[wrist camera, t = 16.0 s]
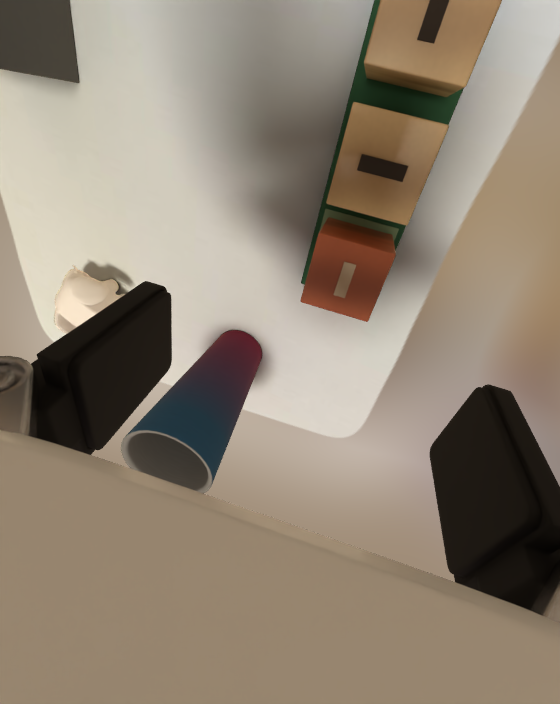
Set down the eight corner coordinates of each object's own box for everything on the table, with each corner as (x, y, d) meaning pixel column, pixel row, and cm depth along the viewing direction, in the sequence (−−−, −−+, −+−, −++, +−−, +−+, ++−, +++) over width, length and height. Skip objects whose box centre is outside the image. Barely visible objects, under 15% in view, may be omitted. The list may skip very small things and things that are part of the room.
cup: (202, 359, 37) (116, 470, 24) (219, 310, 33) (125, 414, 20) (257, 386, 37) (199, 509, 25) (280, 341, 33) (224, 461, 21)
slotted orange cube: (328, 216, 25) (318, 232, 20) (392, 234, 24) (396, 254, 20) (311, 277, 28) (299, 302, 23) (368, 294, 27) (367, 323, 23)
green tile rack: (393, -69, 17) (400, -147, 12) (516, -44, 17) (572, -116, 12) (302, 280, 29) (287, 309, 24) (373, 301, 28) (372, 334, 24)
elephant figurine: (97, 241, 32) (46, 261, 27) (159, 303, 34) (123, 331, 29) (70, 282, 35) (21, 305, 30) (128, 335, 37) (91, 365, 33)
